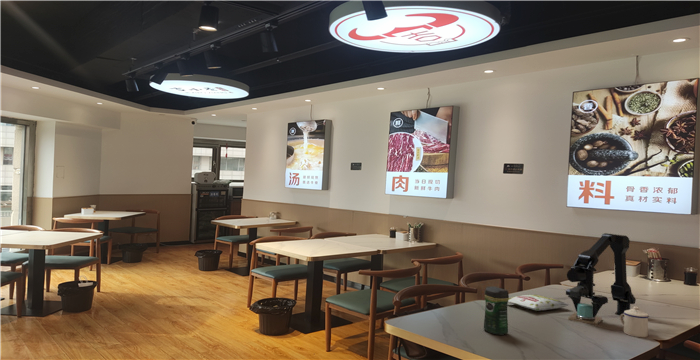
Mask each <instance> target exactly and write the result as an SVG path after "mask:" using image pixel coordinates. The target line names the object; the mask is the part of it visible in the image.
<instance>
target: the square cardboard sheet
mask: <svg viewBox="0 0 700 360" xmlns="http://www.w3.org/2000/svg"><path fill="white" fill-rule="evenodd" d="M567 320H568V321H573V322H577V323H578V322H579V323H583V324H589V325H594V326H598V325H599V324H600V323H601V322H602V321H603V317H601V316H595V317H592V318H589V317H582V316H579V315H577V312H574V313H572V314H571V315H570V316H569V317H568V319H567Z"/></svg>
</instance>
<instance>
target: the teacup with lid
mask: <svg viewBox="0 0 700 360" xmlns="http://www.w3.org/2000/svg"><path fill="white" fill-rule="evenodd" d="M649 317H650V316H649V314H648V313H647V312H644V311H643V310H642V309H640V308H639V307H638V306H633V308H630V310H625V311H624V314H621V315H619V320H620V322H621V324H622V325H623V333H625V334H626V335H628V336H631V337H634V336H635V337H636V338H647V337H648V335H649V334H648V333H649V332H648V331H649ZM635 337H634V338H635Z"/></svg>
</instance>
